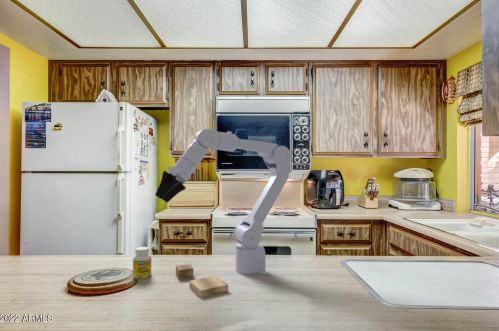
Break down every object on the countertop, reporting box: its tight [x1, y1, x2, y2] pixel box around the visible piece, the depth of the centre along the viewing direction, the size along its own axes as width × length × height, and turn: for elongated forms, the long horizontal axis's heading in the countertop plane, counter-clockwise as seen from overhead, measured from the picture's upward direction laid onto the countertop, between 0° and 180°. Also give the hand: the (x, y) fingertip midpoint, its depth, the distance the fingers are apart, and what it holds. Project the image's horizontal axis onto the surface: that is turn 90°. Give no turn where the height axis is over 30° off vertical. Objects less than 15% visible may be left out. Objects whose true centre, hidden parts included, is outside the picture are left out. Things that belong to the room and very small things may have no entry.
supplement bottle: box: [132, 246, 152, 280], centre depth 95 cm, size 5×5×10 cm
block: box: [175, 263, 194, 280], centre depth 95 cm, size 4×4×4 cm
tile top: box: [189, 275, 229, 298], centre depth 85 cm, size 8×8×2 cm
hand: (161, 199), depth 92 cm, fingers open, 7 cm apart
